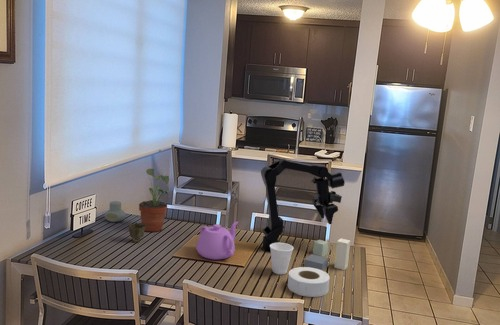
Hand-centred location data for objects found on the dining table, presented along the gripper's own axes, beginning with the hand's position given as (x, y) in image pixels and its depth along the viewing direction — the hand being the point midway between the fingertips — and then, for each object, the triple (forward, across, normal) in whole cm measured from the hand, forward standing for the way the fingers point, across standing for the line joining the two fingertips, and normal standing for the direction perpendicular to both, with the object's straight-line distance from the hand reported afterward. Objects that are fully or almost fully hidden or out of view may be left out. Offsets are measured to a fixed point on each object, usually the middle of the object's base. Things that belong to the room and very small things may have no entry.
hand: (326, 221), depth 214 cm
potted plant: (-4, +31, +82) cm, 88 cm away
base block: (+11, -22, +15) cm, 29 cm away
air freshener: (-9, +46, +102) cm, 112 cm away
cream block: (+14, -22, +4) cm, 26 cm away
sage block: (+13, -7, +8) cm, 16 cm away
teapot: (+2, -4, +54) cm, 54 cm away
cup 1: (-6, +13, +90) cm, 91 cm away
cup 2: (+7, -26, +32) cm, 42 cm away
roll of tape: (+9, -41, +26) cm, 50 cm away
